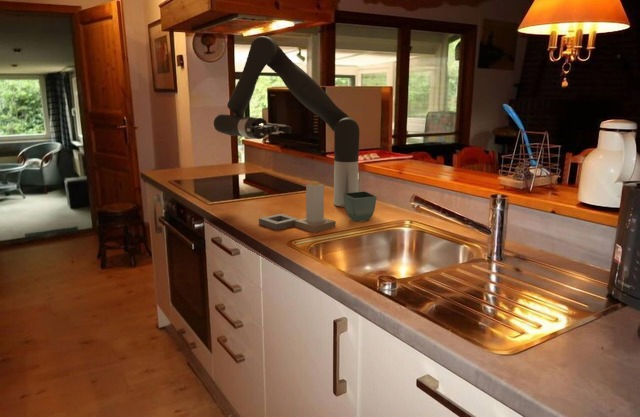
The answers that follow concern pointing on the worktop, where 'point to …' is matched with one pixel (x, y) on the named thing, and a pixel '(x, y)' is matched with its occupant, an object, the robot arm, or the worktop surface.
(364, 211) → the flower pot
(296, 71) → the robot arm
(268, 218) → the socket
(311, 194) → the plug
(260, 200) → the worktop surface
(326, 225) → the socket
